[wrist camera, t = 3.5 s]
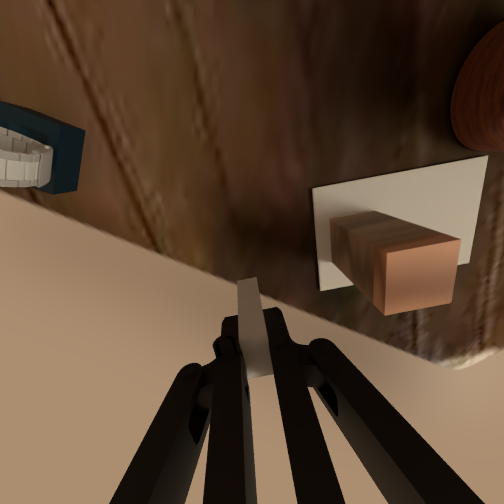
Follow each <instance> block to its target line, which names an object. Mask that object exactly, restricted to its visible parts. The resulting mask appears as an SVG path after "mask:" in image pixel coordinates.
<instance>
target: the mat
mask: <svg viewBox="0 0 504 504" xmlns="http://www.w3.org/2000/svg"><path fill="white" fill-rule="evenodd" d="M487 160H488V156H481V157H476V158H470V159H465V160H460V161H454V162H449V163H444V164H439V165H433V166H428V167H423V168H417V169H412V170H407V171H401V172H396V173H391V174H385V175H380V176H375V177H370V178H364V179H359V180H354V181H348V182H343V183H338V184H332V185H327V186H322V187H316V188H312V195H313V208H314V220H315V233H316V246H317V259H318V271H319V284H320V291H323V290H329V289H334V288H339V287H344V286H350V285H354V284H353V283H352V282H351V281H350V280H349V279H348V278H347V277H346V276H345V275H344V274H343V273H342V272H341V271H340V270H339V269H338V268H337V267H336V266H335V265H334V264H333V263H332V258H331V240H330V221H329V220H330V219H335V218H340V217H346V216H351V215H356V214H361V213H367V212H372V211H378V212H381V213H384V214H387V215H390V216H393V217H396V218H399V219H402V220H405V221H408V222H411V223H414V224H417V225H420V226H423V227H426V228H429V229H432V230H435V231H438V232H441V233H444V234H447V235H450V236H453V237H456V238H459V239H461V245H460V251H459V257H458V264H457V265H460V264H465V263H469V260H470V254H471V249H472V243H473V238H474V232H475V227H476V221H477V215H478V210H479V204H480V199H481V193H482V188H483V182H484V177H485V171H486V166H487Z"/></svg>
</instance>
